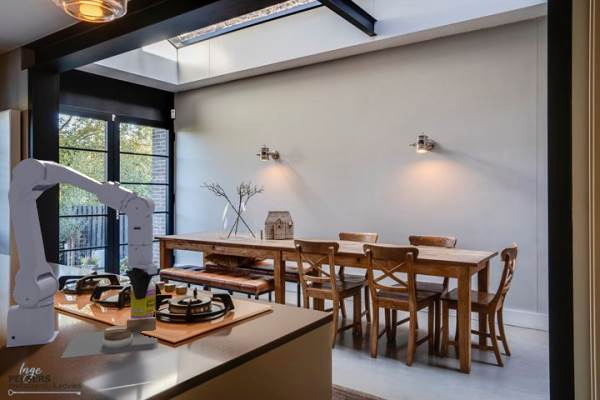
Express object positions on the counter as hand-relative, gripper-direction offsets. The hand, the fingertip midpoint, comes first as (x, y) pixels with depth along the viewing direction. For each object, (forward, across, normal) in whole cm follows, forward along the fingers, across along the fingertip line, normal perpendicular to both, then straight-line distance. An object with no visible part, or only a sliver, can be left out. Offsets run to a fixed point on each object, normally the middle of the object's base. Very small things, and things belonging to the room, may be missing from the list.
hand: (140, 298), depth 105 cm
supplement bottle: (+10, +14, -7) cm, 19 cm away
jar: (+10, -1, +6) cm, 11 cm away
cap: (+8, -2, +3) cm, 9 cm away
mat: (+10, +2, +6) cm, 12 cm away
